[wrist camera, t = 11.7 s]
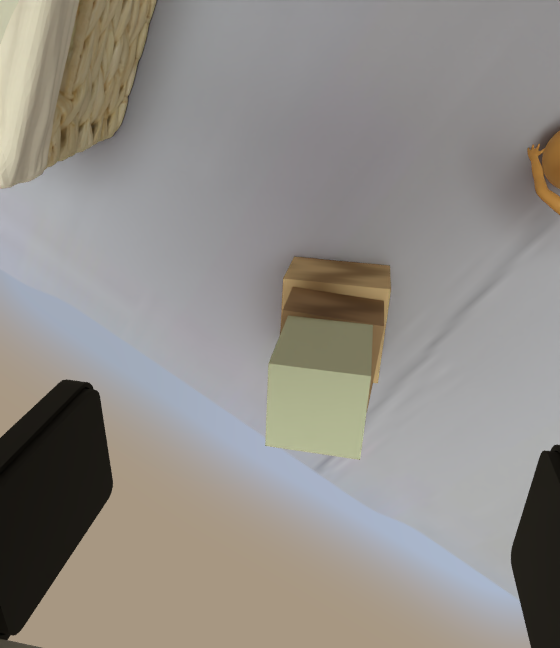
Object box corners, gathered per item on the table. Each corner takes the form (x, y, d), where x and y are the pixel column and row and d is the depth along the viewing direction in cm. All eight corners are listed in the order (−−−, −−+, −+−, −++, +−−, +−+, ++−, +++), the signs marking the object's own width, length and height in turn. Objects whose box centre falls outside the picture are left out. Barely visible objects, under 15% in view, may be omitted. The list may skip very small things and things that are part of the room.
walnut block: (384, 300, 34) (384, 326, 30) (368, 379, 36) (366, 411, 33) (292, 286, 35) (282, 309, 31) (283, 365, 37) (273, 394, 34)
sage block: (372, 324, 30) (371, 376, 25) (363, 397, 33) (359, 459, 27) (287, 315, 31) (268, 363, 26) (284, 387, 33) (265, 445, 28)
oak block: (389, 265, 38) (390, 289, 34) (378, 350, 41) (377, 383, 36) (294, 256, 39) (283, 278, 34) (289, 340, 42) (278, 370, 37)
